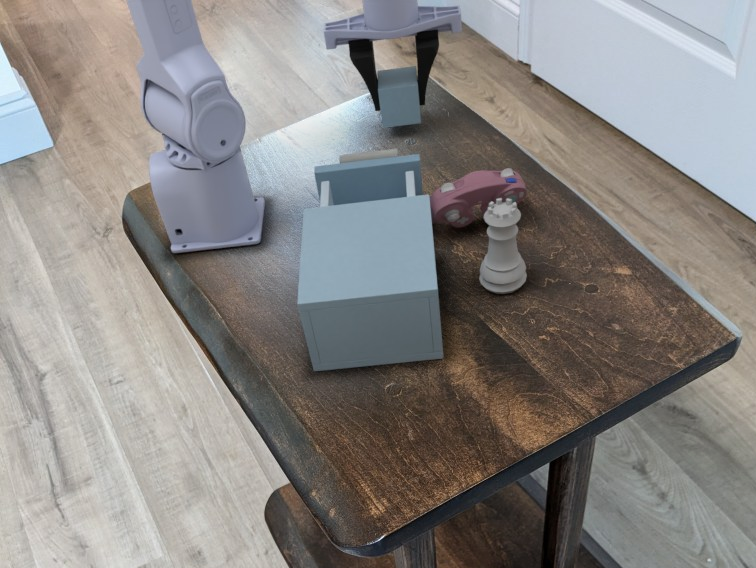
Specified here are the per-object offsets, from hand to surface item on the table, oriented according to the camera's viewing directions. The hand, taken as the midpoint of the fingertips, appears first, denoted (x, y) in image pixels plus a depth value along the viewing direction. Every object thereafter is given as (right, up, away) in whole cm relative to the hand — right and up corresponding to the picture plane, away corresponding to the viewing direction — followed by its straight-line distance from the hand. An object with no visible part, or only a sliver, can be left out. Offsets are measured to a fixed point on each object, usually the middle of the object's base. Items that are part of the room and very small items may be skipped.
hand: (400, 103), depth 98 cm
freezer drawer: (-3, -19, -11) cm, 22 cm away
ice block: (0, -1, +1) cm, 1 cm away
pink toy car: (+8, -17, -10) cm, 21 cm away
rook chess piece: (+9, -25, -17) cm, 31 cm away
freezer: (-2, -28, -18) cm, 33 cm away
